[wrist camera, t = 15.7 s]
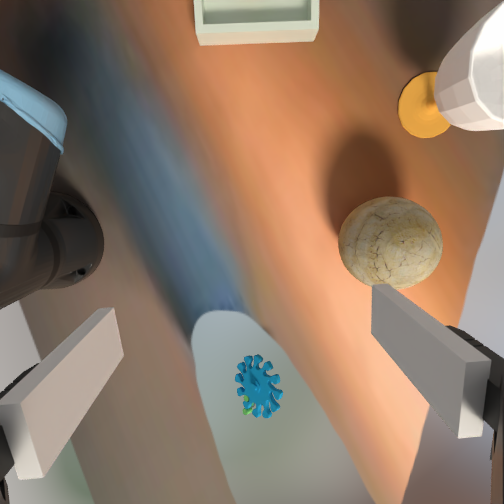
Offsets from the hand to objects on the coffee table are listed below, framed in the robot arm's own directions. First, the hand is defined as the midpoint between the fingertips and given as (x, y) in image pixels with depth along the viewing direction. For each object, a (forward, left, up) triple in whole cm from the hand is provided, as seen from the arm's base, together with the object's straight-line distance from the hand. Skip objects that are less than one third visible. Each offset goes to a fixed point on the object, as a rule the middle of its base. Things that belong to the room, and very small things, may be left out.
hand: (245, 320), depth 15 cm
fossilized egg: (+19, -2, -34) cm, 39 cm away
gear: (0, -26, -34) cm, 43 cm away
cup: (+27, +17, -34) cm, 47 cm away
